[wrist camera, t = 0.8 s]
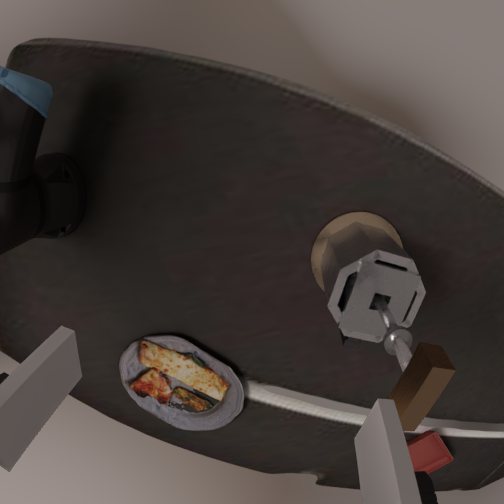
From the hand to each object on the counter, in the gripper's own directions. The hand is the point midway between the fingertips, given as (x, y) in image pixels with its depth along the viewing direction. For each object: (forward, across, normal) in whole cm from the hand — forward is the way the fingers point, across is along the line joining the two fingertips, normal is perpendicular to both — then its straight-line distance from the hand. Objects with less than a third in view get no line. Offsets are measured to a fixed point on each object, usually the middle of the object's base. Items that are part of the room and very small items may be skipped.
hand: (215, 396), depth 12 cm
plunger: (+24, +14, -4) cm, 28 cm away
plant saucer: (+35, +45, -49) cm, 75 cm away
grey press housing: (+36, +14, -4) cm, 38 cm away
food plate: (+36, -11, -36) cm, 52 cm away
